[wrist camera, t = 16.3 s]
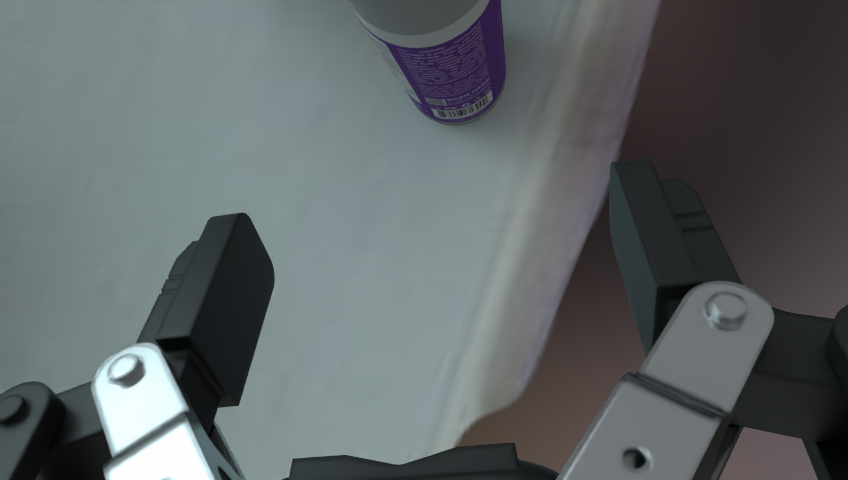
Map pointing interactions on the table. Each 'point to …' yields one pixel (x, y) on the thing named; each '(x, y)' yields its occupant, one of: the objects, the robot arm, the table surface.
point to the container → (441, 52)
